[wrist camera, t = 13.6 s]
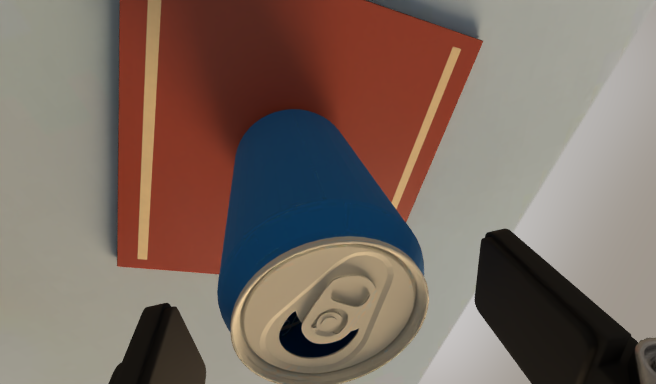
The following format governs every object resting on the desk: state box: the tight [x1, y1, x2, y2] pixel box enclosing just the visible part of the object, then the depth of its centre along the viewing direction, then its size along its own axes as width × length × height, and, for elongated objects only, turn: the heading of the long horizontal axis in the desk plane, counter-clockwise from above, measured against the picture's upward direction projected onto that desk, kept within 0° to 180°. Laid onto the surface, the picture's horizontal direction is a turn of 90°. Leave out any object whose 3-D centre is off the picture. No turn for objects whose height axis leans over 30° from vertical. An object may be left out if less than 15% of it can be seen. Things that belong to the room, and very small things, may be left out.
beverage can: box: [217, 109, 429, 384], centre depth 15 cm, size 6×6×12 cm
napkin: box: [117, 0, 483, 274], centre depth 20 cm, size 18×18×1 cm
